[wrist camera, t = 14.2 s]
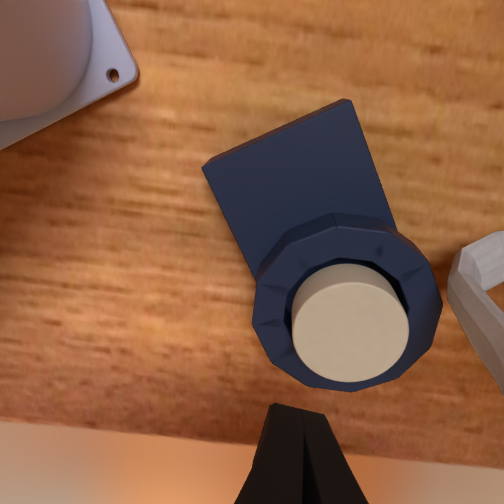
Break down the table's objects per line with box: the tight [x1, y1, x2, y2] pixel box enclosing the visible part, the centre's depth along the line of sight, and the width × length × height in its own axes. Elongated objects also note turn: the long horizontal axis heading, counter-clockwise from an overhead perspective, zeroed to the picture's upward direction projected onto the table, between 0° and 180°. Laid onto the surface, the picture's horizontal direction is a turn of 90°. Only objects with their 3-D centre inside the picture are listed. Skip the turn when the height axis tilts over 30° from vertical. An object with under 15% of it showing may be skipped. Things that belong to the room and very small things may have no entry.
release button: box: [292, 264, 409, 382], centre depth 16 cm, size 4×4×2 cm
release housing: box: [202, 99, 443, 392], centre depth 18 cm, size 7×10×4 cm, turn 24°
